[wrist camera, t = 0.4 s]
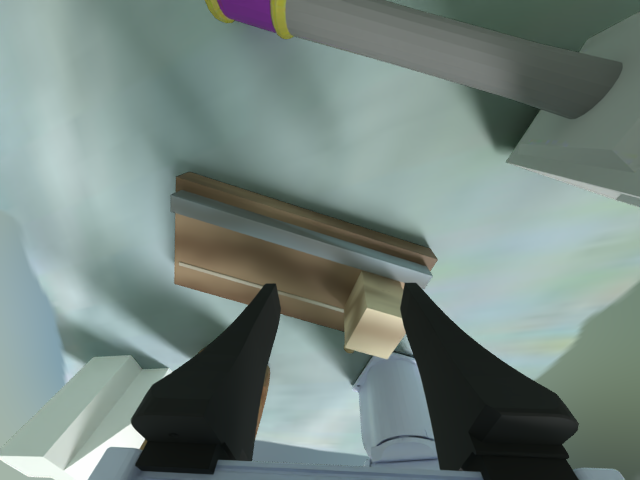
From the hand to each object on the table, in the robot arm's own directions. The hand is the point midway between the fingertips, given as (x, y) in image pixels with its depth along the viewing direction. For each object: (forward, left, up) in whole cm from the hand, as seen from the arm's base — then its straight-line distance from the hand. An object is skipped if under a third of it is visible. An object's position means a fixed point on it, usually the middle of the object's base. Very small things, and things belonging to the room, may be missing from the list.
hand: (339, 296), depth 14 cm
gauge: (-8, -5, -9) cm, 13 cm away
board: (-6, +3, -11) cm, 12 cm away
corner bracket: (-36, +21, -11) cm, 43 cm away
